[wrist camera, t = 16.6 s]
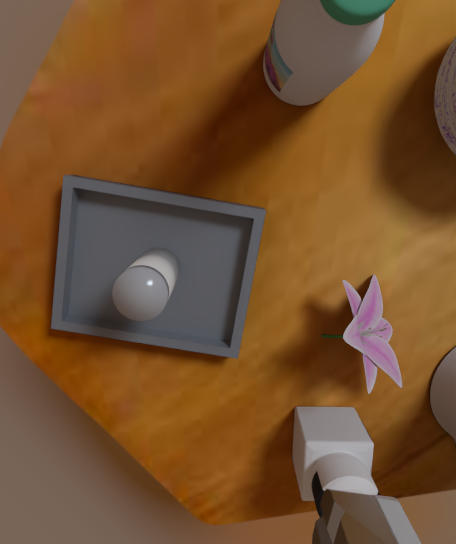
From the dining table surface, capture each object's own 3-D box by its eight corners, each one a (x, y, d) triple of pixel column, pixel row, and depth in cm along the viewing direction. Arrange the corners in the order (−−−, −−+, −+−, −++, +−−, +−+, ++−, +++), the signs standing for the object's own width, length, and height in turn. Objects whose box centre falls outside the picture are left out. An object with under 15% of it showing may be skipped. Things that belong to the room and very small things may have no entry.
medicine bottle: (350, 458, 51) (385, 542, 40) (291, 458, 51) (310, 541, 40) (354, 405, 50) (393, 476, 38) (294, 405, 50) (314, 476, 38)
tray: (263, 208, 45) (266, 210, 42) (237, 347, 48) (237, 358, 45) (74, 175, 44) (63, 175, 41) (61, 319, 47) (50, 328, 44)
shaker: (183, 251, 45) (171, 273, 35) (177, 292, 46) (163, 325, 36) (140, 243, 44) (115, 263, 35) (134, 285, 45) (109, 316, 36)
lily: (377, 377, 50) (446, 389, 41) (291, 391, 45) (349, 408, 37) (366, 277, 51) (432, 268, 42) (282, 281, 47) (336, 271, 38)
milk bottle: (353, 40, 41) (467, -82, 21) (321, 118, 43) (399, 71, 23) (280, 8, 40) (328, -148, 21) (250, 89, 42) (269, 14, 22)
